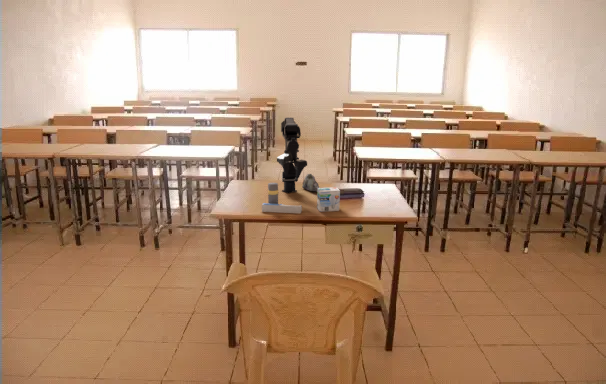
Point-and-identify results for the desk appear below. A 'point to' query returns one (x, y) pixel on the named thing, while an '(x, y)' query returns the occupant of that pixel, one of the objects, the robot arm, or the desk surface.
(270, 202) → the grey banded capsule
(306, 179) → the mineral rock
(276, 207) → the white blue striped bracket
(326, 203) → the light bulb box
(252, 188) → the desk surface
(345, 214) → the desk surface
